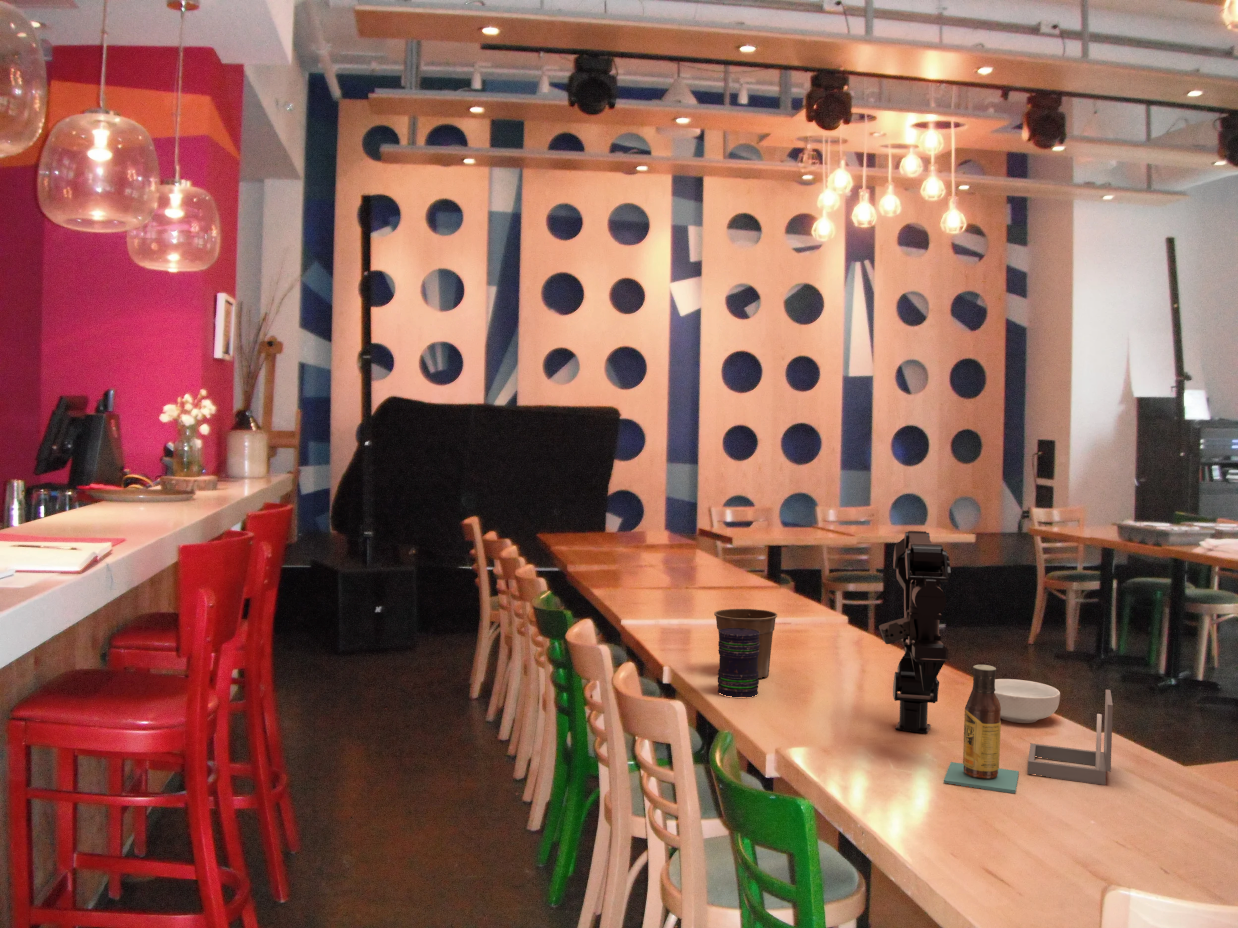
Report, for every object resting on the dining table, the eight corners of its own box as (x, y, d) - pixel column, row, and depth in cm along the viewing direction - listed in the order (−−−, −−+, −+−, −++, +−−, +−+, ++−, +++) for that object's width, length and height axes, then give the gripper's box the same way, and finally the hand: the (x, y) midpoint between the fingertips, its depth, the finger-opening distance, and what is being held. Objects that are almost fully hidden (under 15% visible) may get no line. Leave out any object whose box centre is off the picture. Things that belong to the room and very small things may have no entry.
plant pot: (706, 678, 266) (707, 615, 266) (720, 666, 282) (722, 606, 281) (769, 684, 261) (771, 620, 261) (780, 671, 276) (782, 610, 276)
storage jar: (753, 700, 245) (755, 636, 245) (712, 695, 248) (714, 633, 248) (762, 690, 254) (763, 629, 254) (722, 686, 257) (724, 626, 257)
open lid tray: (1030, 755, 204) (1032, 681, 204) (1107, 765, 199) (1110, 689, 199) (1027, 774, 192) (1029, 696, 192) (1110, 785, 187) (1112, 705, 187)
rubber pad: (950, 764, 197) (950, 761, 197) (1018, 774, 193) (1018, 770, 193) (943, 783, 186) (943, 780, 186) (1015, 793, 182) (1015, 790, 182)
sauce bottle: (961, 768, 194) (964, 661, 193) (996, 771, 192) (999, 663, 192) (964, 779, 187) (967, 668, 187) (1001, 782, 186) (1004, 670, 185)
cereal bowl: (964, 717, 233) (965, 685, 233) (998, 705, 245) (999, 675, 245) (1039, 733, 221) (1040, 700, 221) (1071, 719, 233) (1072, 688, 233)
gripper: (876, 598, 216) (874, 672, 217) (889, 613, 198) (887, 695, 199) (932, 599, 215) (929, 675, 216) (949, 615, 197) (947, 698, 197)
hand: (922, 685), depth 207 cm, fingers open, 9 cm apart
